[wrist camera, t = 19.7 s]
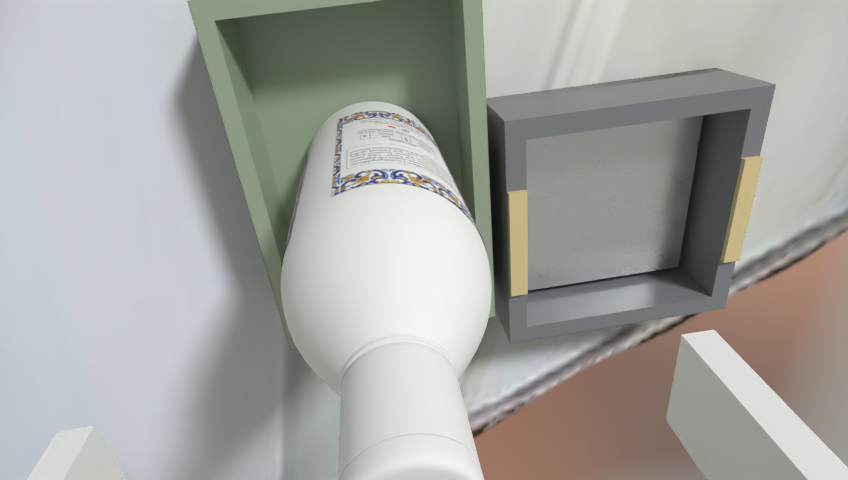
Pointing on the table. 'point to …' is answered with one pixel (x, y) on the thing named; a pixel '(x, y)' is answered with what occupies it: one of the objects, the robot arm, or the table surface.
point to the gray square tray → (707, 211)
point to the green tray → (342, 92)
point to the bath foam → (387, 293)
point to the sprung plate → (608, 201)
